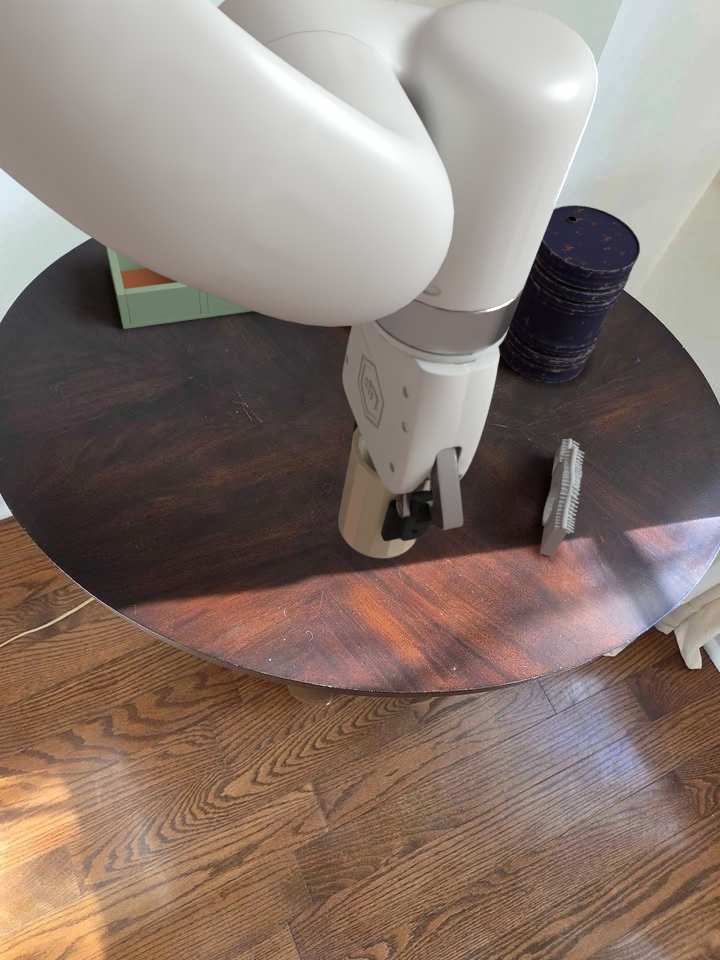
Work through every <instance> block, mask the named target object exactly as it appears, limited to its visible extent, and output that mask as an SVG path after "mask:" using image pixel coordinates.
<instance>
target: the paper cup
mask: <svg viewBox="0 0 720 960" xmlns="http://www.w3.org/2000/svg"><path fill="white" fill-rule="evenodd" d="M352 434H353V437H352V436H351V439H352V443H351V442H350V444H351V448H350V447H349V450H350V453H349V452H348V459H347V464H346V469H345V474H344V480H343V484H342V490H341V495H340V500H339V506H338V514H337V526H338V530H339V533H340V535H341V536H342V538H343V539H344V541H345V542H346V543H347V544H348V546H350V548H351V549H353V550H355V551H357V553H359V554H362V555H364V556H366V557H371V558H376V559H390V558H395V557H398V556H401V555H402V554H404V553H406V552H407V551H409V550H410V549H411V548H412V547H413V545H415V543H416V542H417V539H418V538H416V539H413V540H408V541H402V540H401V538H400V539H395V540H391V541H384V540H383V538H382V536H381V530H382V527H383V523H384V520H385V516H386V512H387V509H388V505H389V502H390V501H392V500H394V499H396V494H394V493H392V492H391V491H390V490H389V489H388V488H387V487H386V486H385V485H384V484H383V482H382V481H381V479H380V477H379V475H378V473H377V470H376V468H375V466H374V464H373V461H372V459H371V456H370V454H369V452H368V449H367V447H366V444H365V442H364V439H363V437H362V434H361V432H360V430H359V427H357V428H356V430H355V431H354V433H353V432H352ZM429 489H430V480H428V481H423V482H422V483H421V484H420V485H419V486H418V487H417V488H416V489H415V490H413V491H412V493H415V492H419V491H424V490H428V491H429Z"/></svg>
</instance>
